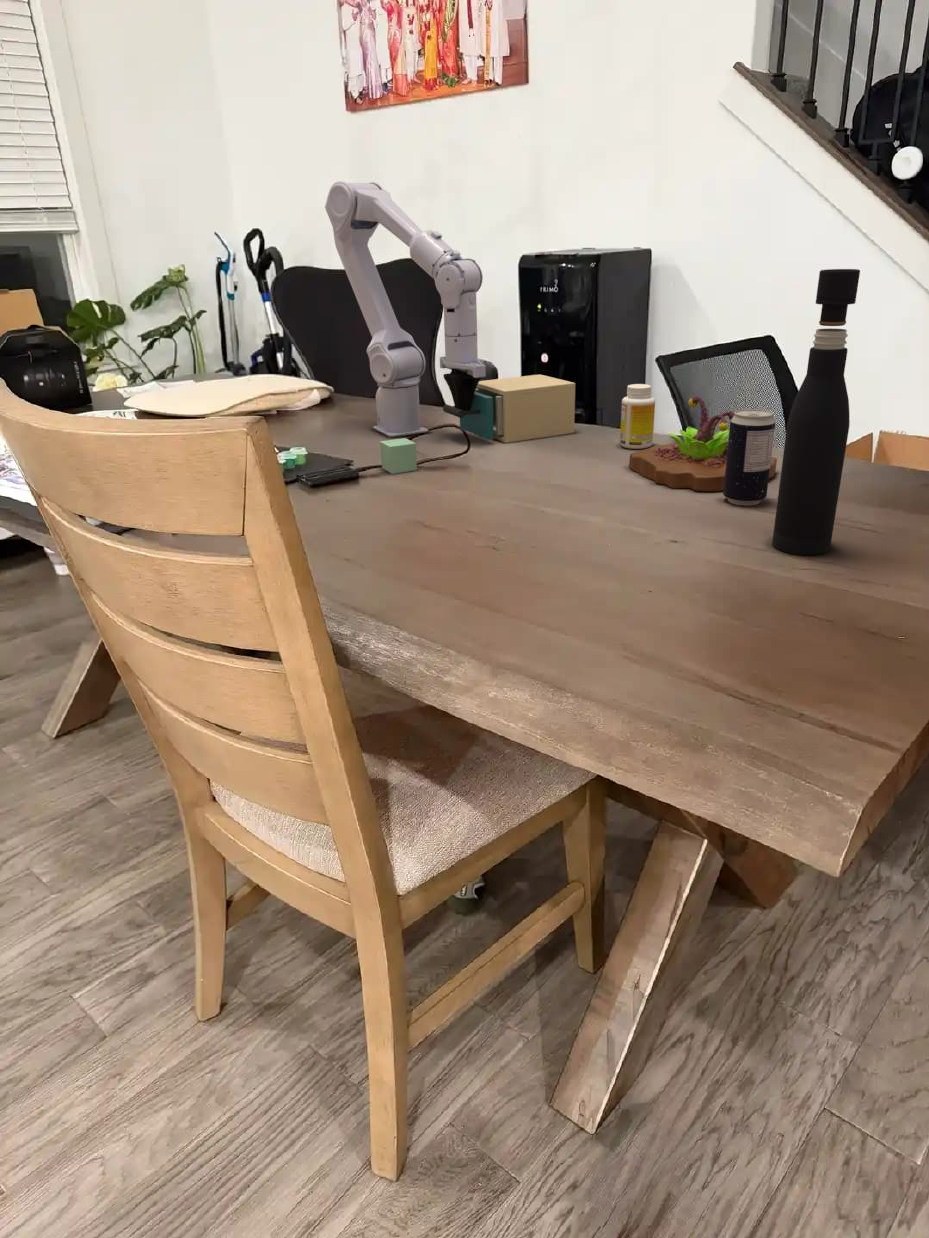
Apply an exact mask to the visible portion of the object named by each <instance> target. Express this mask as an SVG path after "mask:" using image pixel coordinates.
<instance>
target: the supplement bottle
mask: <svg viewBox="0 0 929 1238" xmlns="http://www.w3.org/2000/svg"><path fill="white" fill-rule="evenodd" d="M651 395H652V385H650V384H646V383H633V384H628V385H627V387H626V396H624V397H623V398H622V399H621V412H620V414H621V415H620V438H619V440H620V441H619V444H620V446H621V447H623V448H625V449H629V450H645V449H649V448H650V447H652V446H653V443H654V442H653V441H654V426H655V412H656V411H655V409H656V399H655V398H654V397H653V396H651Z"/></svg>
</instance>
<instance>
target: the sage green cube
mask: <svg viewBox="0 0 929 1238" xmlns="http://www.w3.org/2000/svg"><path fill="white" fill-rule="evenodd" d="M379 444H380V456H381V457H380V458H381V469H383V470H385V471H386V472H388V473H389V474H391V475H396V474H401V473H408V472H415V471H418V460H417V444H416V442H414V441H412V440H410V439H408V438H406V437H403V438H396V439H389V440H388V439H387V440H380V441H379Z"/></svg>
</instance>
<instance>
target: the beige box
mask: <svg viewBox="0 0 929 1238" xmlns="http://www.w3.org/2000/svg"><path fill="white" fill-rule="evenodd" d="M480 388H481V389H484V390H487V391H491V392H494V393H497V394H500V395H503V435H496V434H493V439H495V440H498V441H500V442H502V443H505V444H506V443H515V442H521V441H528V440H535V439H542V438H549V437H556V436H561V435H562V436H563V435H570V434H574V433H575V419H576V416H575V415H576V414H575V411H576V383H575V382H574V381H573V382H572V381H570V380H569V381H568V380H565V379H560V378H556V377H552V376H548V375H544V374H531V375H523V376H514V377H512V376H511V377H504V378H495V379H486V380H480V381H479V383H478V385H477V387H476V389H480Z"/></svg>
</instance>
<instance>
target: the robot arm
mask: <svg viewBox="0 0 929 1238" xmlns="http://www.w3.org/2000/svg"><path fill="white" fill-rule="evenodd" d="M324 209H325V211H326V214H327V216H328V219H329V221H330V224H331V226H332V232H333V238H334V239H333V240H334V245H335V249H336V251H337V253H338V257H339V259H340V261H341V264H342V266H343V269H344V271H345V274H346V276H347V279H348V281H349V283H350V286H351V288H352V292H353V293H354V296H355V298H356V301H357V303H358V306H359V308H360V311H361V313H362V316H363V318H364V321H365V323H366V326H367V328H368V330H369V333H370V336H371V341H370V342H369V344H368V346H367V348H366V354H367V356H368V361H369V369H370V374H371V377H372V378H373V380H374V381H375V382H376V383H377V387H378V388H377V390H376V393H375V406H376V419H377V420H376V421H377V425H373V430H375V431H377V432H379V433H381V434H383V435H386V437H387V436H388V437H389V438H395V437H403V436H404V437H405V436H409V435H417V434H425V433H429V432H430V431H429V428H426V427H424V426H421V410H420V395H419V394H420V392H419V391H420V390H419V383H421V377H422V376H423V375H424V373H425V370H426V365H427V364H426V358H425V355H424V352H423V351H422V349H420V347H419V346H418V345H417V344H416V342H415V339H414V338H413V336H412V335H411V334H410V333H409V332H407V331H406V330H404V329H403V328H402V327H401V326H400V324H399V321H398V319H397V317H396V314H395V311H394V308H393V306H392V304H391V301H390V299H389V296H388V294H387V291H386V288H385V287H384V284H383V280H382V279H381V276H380V274H379V270H378V269H377V265H376V263H375V261H374V259H373V256H372V254H371V251H370V248H369V241H370V239H371V238H372V237H373V235H374V233H375V231H376V230H377V229H378V227H379V225H381V226H382V227H384V228H385V229H386V230H387V231H389V232H390V233H391V234H392V235H394V236H395V237H396V238H397V239H398V240H400V241H401V242H402V243H403V244H404V245H406V246H407V247H409V256H410V258H411V260H412V261H414V262H415V263H416V264H417V265H418V266H419V267H420V268H421V269H422V270H423V271H425V273H427V274H428V275H429V276H430V277H431V278H432V279H433V280H434V284H435V288H436V290H437V292H438V294H439V296H440V303H441V305H442V307H443V329H444V354H445V355H444V356H439V368H440V369H447V370H450V372H448V373H444V374H443V379H444V381H445V382H446V384H447V386H448V388H449V391H450V394H451V397H452V401H453V406H455V408H458V409H461V410H463V411H470V410H471V406H472V401H473V397H474V393H475V390H476V387H477V385H478V383H479V381H481V379H482V378H486V376H487V375H486V372H487V371H486V365H485V364H484V362H485V361H484V359H483V358H479V357H478V356H479V353H478V348H479V347H478V311H477V310H478V309H477V308H478V307H477V306H478V305H477V292H479V291H480V289H481V288H482V284H483V272H482V269H481V267H480V265H479V264H478V263H477V262H476V260H475V259H474V258H470V257H469V258H468V257H467V258H463V257H462V256H461V252H460V251H459V250H457V249H455V250H454V249H453V248H452V247H451V245H449V244H448V243H447V242H446V241H444V240H443V239H442V237H443V234H442V233H441V232H439V231H438V230H435V231H434V230H431V229H426V230H422V229H421V228H420V227H419V226H418V225H417V224H416V223H415V222H414V221H413V220H412V219H411V218H410V217H409V216H408V214H407V213H405V212H404V211H403V209H402V208H401V207H400V206H399V205H398V204H397V203H396V202H395V201H394V200H393V199H392V195H391V193H390V192H389V191H387V190H386V189H384V188H383V186H382V185H380V184H379V183H377V182H345V181H341V180H340V181H336V182H334V183H333V184H332V185H331V186H330V187H329V191H328V194H327V197H326V202H325V206H324Z"/></svg>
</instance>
